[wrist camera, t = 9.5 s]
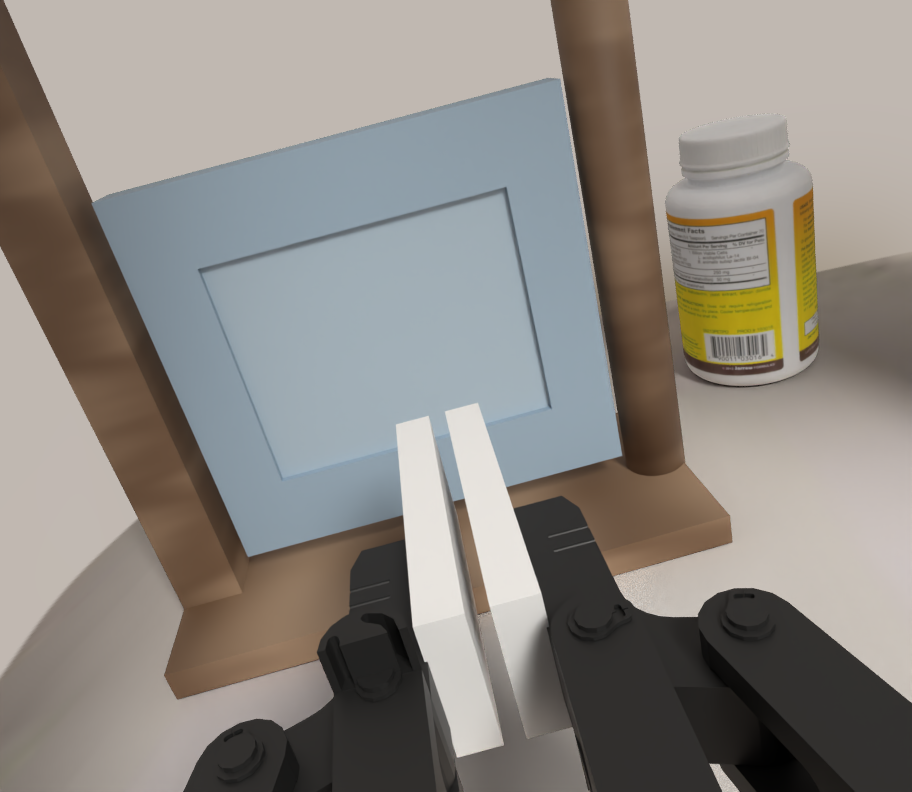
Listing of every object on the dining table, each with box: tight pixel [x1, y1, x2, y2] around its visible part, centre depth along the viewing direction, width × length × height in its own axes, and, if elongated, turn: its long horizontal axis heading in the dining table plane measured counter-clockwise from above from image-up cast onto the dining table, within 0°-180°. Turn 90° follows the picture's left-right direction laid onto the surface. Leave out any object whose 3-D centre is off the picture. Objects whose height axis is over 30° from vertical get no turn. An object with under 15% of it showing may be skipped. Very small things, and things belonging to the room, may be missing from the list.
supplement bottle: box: [665, 114, 819, 386], centre depth 31 cm, size 6×6×10 cm
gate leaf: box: [91, 78, 622, 557], centre depth 23 cm, size 13×2×12 cm, turn 97°
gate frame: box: [0, 0, 732, 699], centre depth 22 cm, size 18×8×22 cm, turn 98°
